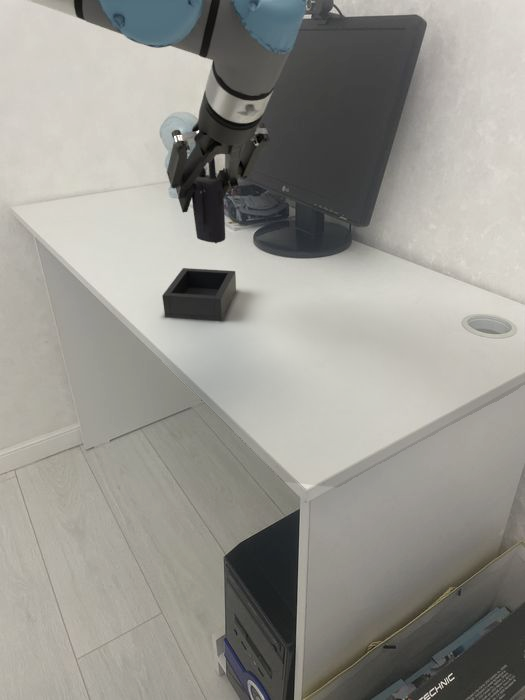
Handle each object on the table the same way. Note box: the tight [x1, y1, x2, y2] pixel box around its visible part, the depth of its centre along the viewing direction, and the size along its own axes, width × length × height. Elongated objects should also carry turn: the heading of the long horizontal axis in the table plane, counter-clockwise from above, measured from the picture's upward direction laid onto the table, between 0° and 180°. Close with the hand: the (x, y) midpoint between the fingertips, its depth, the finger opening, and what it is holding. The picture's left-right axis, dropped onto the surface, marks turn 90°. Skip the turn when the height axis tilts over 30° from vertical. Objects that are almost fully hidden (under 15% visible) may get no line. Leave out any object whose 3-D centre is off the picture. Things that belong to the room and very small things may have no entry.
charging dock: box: [161, 267, 237, 322], centre depth 95 cm, size 10×12×4 cm
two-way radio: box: [191, 158, 226, 244], centre depth 80 cm, size 6×4×15 cm
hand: (199, 202), depth 84 cm, fingers closed on two-way radio, 5 cm apart
